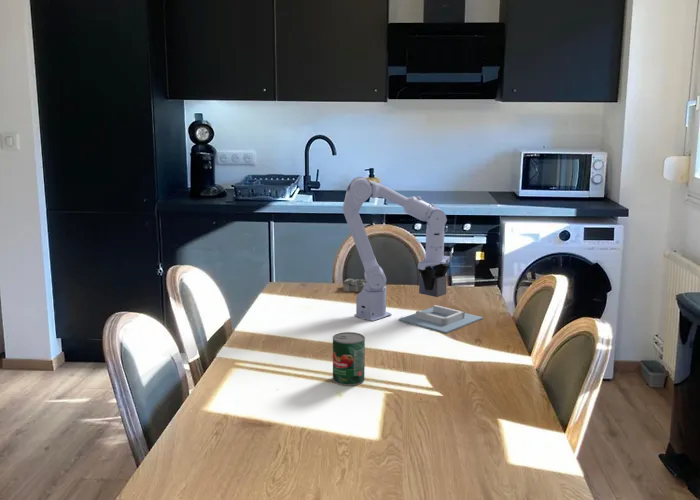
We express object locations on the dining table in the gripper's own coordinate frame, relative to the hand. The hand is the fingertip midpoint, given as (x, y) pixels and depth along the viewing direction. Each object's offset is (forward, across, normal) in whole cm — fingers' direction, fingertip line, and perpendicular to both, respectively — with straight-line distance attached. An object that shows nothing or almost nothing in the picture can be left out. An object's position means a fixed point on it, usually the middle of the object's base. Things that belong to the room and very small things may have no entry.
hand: (433, 287), depth 229 cm
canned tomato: (+9, -59, -16) cm, 61 cm away
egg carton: (+9, +7, +38) cm, 40 cm away
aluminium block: (+2, 0, 0) cm, 2 cm away
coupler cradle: (+9, -2, -4) cm, 10 cm away
